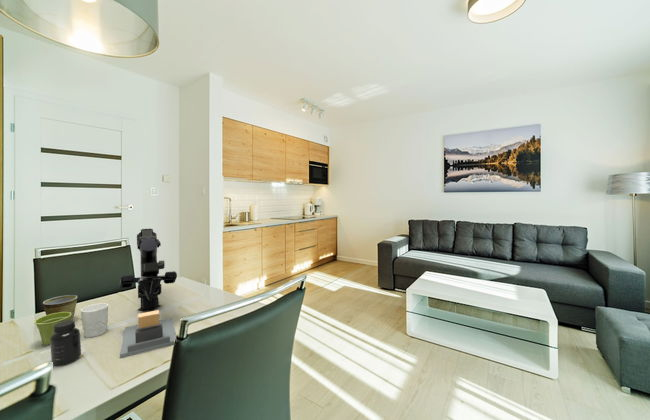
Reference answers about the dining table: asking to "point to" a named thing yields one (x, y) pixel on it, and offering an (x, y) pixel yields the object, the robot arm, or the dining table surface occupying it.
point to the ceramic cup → (61, 305)
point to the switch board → (147, 338)
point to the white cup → (94, 319)
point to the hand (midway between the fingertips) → (150, 299)
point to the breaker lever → (148, 320)
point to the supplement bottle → (65, 343)
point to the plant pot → (50, 324)
